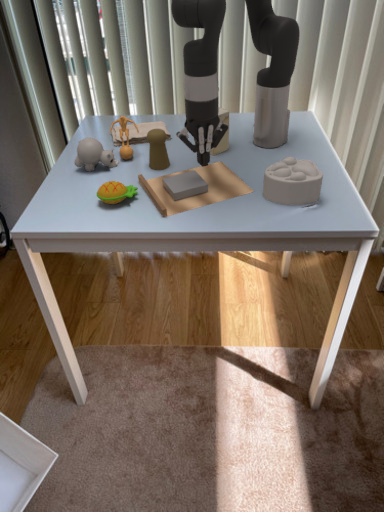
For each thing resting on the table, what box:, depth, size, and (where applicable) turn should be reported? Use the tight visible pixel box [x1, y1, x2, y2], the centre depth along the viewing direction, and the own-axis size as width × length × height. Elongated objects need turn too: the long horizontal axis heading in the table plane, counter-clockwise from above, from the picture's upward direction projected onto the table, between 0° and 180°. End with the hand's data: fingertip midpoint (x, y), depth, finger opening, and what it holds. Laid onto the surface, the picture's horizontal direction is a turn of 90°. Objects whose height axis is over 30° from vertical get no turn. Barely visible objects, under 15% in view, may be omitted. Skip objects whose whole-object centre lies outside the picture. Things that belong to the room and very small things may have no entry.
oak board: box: [137, 160, 255, 218], centre depth 104 cm, size 24×18×3 cm
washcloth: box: [111, 120, 172, 147], centre depth 131 cm, size 12×18×3 cm, turn 103°
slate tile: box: [162, 170, 208, 201], centre depth 103 cm, size 2×8×9 cm
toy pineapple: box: [96, 180, 139, 205], centre depth 101 cm, size 7×10×5 cm
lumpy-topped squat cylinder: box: [262, 156, 324, 209], centre depth 98 cm, size 10×13×9 cm
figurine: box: [109, 115, 139, 160], centre depth 117 cm, size 8×6×12 cm
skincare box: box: [210, 106, 230, 156], centre depth 116 cm, size 6×4×12 cm
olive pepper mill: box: [147, 129, 171, 171], centre depth 111 cm, size 6×6×11 cm
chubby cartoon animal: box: [73, 137, 120, 172], centre depth 114 cm, size 7×12×8 cm, turn 79°
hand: (203, 164), depth 102 cm, fingers closed
